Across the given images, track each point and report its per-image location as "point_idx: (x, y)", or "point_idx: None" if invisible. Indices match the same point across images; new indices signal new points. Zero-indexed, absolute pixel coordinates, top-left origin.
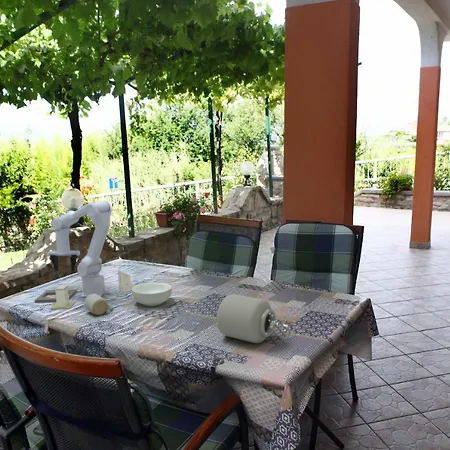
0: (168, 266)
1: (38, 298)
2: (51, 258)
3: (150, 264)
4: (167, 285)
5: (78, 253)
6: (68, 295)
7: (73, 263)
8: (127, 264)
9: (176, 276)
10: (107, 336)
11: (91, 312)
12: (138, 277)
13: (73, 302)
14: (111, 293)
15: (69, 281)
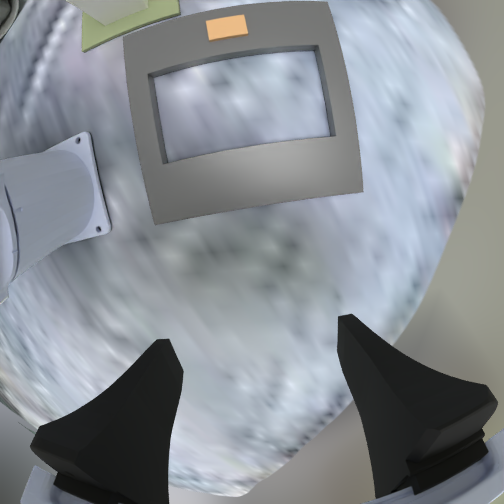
0: None
1: (321, 24)
2: (470, 408)
3: None
4: None
5: (26, 486)
6: (83, 10)
7: (103, 392)
8: (192, 482)
9: (7, 385)
10: None
11: (9, 2)
12: (67, 401)
13: (86, 38)
14: None
15: (306, 380)
